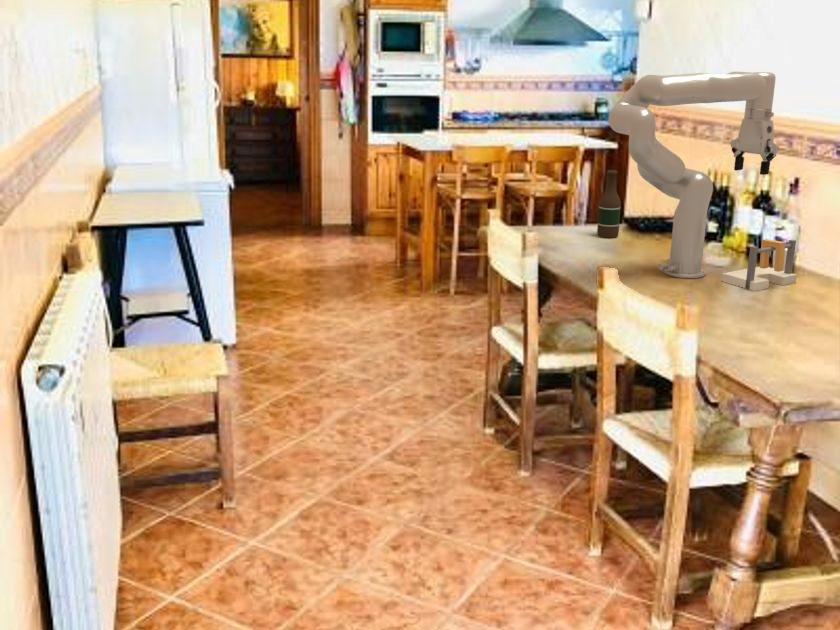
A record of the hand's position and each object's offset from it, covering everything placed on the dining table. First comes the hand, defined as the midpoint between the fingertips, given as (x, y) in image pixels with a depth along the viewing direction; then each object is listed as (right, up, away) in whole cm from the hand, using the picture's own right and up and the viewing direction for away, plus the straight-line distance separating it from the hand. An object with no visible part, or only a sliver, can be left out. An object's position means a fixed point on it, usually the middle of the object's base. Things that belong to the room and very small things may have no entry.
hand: (751, 172), depth 270 cm
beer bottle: (-33, -15, +52) cm, 63 cm away
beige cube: (+13, -30, +8) cm, 33 cm away
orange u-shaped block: (+2, -30, -11) cm, 32 cm away
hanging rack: (0, -34, -6) cm, 34 cm away
